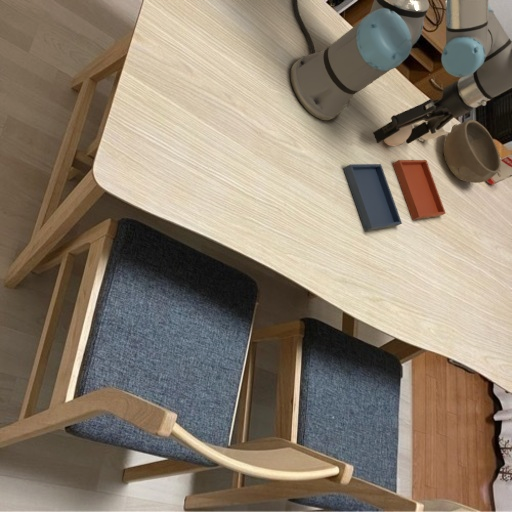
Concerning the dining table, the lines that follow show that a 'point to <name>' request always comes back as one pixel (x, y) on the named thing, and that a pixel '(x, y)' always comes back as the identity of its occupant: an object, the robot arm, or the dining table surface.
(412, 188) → the terracotta tray
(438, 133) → the cup
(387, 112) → the dining table surface
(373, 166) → the blue tray
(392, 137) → the egg
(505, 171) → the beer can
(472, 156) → the bowl
